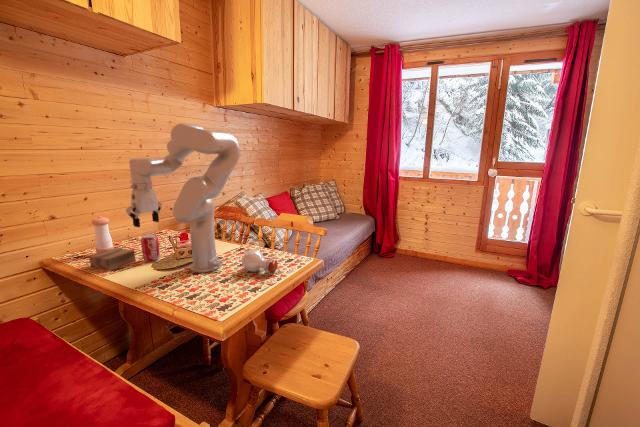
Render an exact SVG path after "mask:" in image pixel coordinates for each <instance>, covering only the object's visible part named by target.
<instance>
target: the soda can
mask: <svg viewBox="0 0 640 427" xmlns="http://www.w3.org/2000/svg"><path fill="white" fill-rule="evenodd" d="M140 244H141V246H140V247H141V252H142V258H143V261H144V262H146V263H148V264H149V263H156V262H158V261H159V260H160V259H161V248H160V241H159V237H158V236H157V234H154V233H151V234H144V235H142V236H141V239H140Z"/></svg>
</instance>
